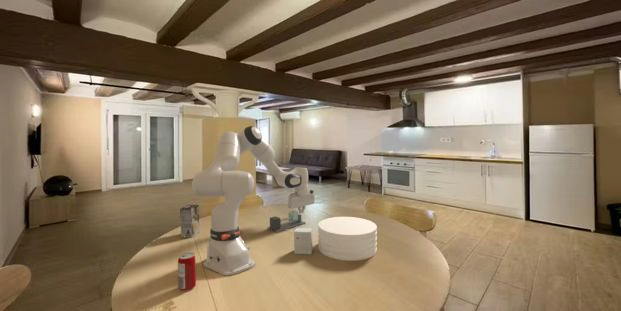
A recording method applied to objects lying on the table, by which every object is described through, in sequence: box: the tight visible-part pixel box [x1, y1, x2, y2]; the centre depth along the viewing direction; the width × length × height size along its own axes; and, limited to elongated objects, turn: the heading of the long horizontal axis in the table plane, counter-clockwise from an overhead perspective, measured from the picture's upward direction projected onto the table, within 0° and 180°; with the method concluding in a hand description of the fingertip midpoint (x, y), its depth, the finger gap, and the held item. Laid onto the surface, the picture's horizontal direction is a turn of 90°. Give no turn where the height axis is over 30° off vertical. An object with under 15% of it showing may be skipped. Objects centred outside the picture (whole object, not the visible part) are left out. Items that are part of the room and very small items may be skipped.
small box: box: [293, 227, 313, 255], centre depth 123 cm, size 8×6×10 cm
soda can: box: [177, 252, 197, 292], centre depth 93 cm, size 6×6×12 cm
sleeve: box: [288, 210, 299, 222], centre depth 164 cm, size 4×4×6 cm
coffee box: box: [179, 204, 201, 238], centre depth 146 cm, size 9×6×16 cm
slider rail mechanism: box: [267, 213, 306, 233], centre depth 160 cm, size 9×22×7 cm, turn 134°
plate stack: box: [317, 216, 378, 261], centre depth 127 cm, size 28×28×12 cm
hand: (301, 213), depth 168 cm, fingers closed
